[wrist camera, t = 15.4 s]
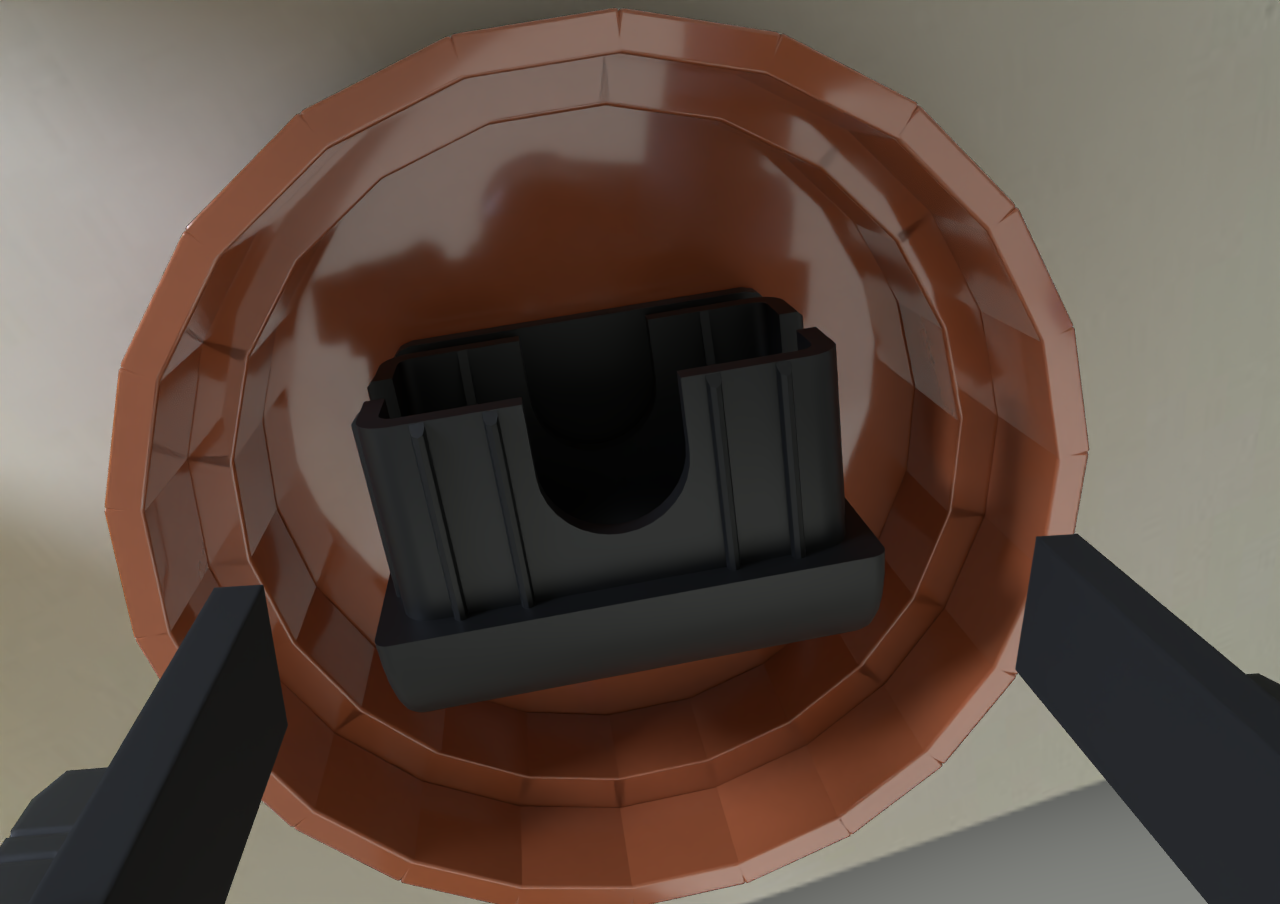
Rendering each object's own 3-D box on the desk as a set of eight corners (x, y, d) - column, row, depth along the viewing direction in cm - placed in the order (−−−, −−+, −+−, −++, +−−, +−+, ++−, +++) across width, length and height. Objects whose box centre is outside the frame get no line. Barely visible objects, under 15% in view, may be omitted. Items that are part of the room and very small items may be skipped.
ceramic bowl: (1005, 21, 22) (1169, 6, 17) (921, 717, 30) (1017, 866, 24) (126, 25, 20) (-16, 8, 15) (268, 777, 27) (208, 956, 22)
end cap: (432, 603, 25) (409, 778, 19) (368, 346, 23) (315, 451, 16) (801, 537, 26) (894, 684, 20) (782, 279, 23) (882, 355, 17)
